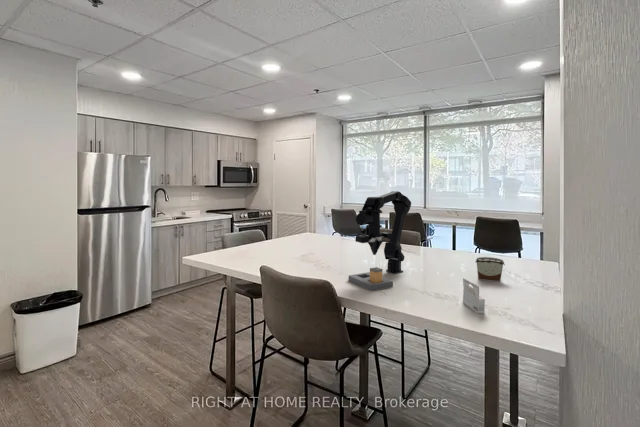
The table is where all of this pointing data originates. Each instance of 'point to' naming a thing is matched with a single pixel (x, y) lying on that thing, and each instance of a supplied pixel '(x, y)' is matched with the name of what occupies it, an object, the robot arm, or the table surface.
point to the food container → (489, 268)
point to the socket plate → (369, 282)
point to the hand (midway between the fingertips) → (374, 254)
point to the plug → (376, 275)
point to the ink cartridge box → (473, 297)
